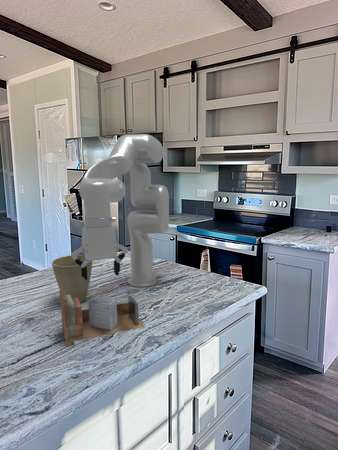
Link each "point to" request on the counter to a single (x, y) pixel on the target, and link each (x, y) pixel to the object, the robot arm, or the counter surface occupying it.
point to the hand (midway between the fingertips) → (101, 276)
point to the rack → (79, 320)
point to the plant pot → (72, 276)
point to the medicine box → (102, 313)
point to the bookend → (133, 310)
